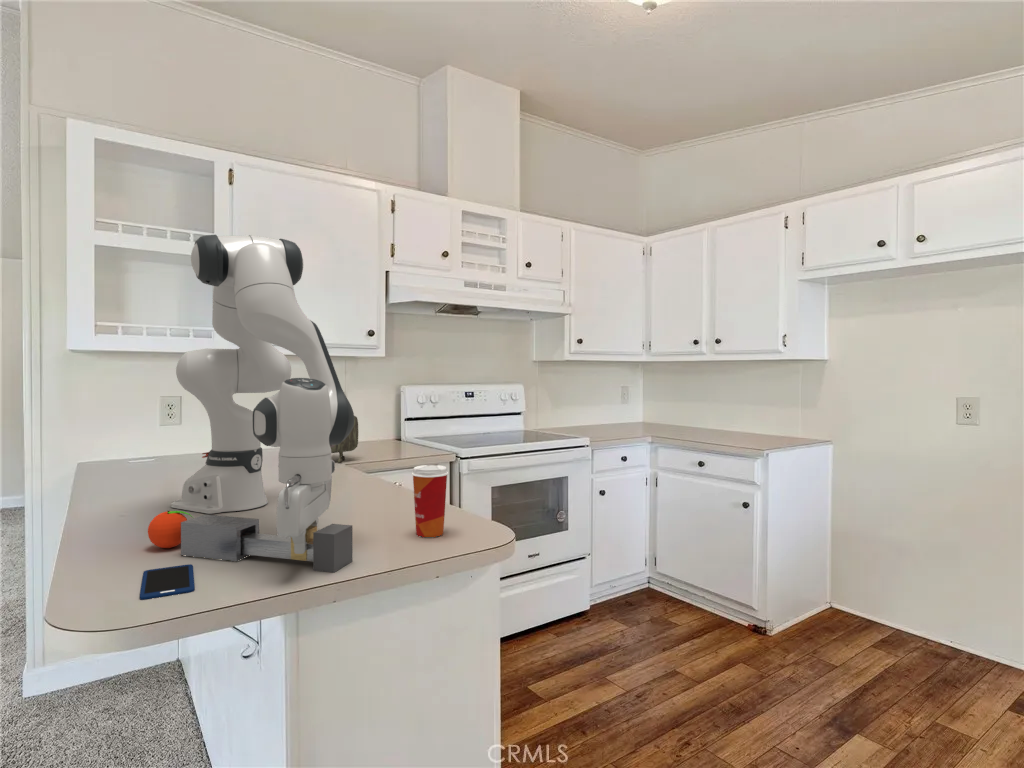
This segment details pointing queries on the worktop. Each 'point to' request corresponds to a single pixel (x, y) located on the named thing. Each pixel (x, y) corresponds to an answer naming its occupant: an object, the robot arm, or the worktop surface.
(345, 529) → the socket
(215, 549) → the sleeve
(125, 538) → the worktop surface
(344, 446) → the tabletop clock
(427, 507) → the paper cup
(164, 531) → the clementine
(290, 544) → the gold-banded square post
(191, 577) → the cell phone
